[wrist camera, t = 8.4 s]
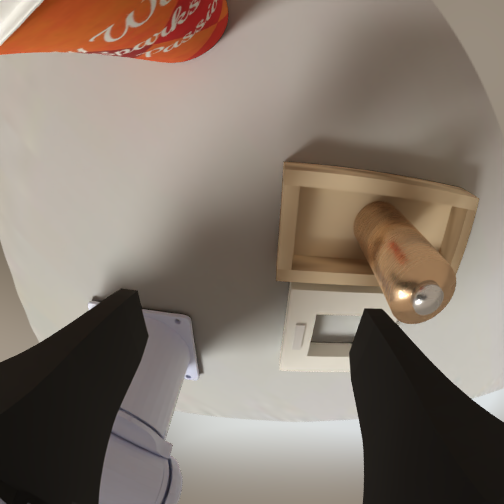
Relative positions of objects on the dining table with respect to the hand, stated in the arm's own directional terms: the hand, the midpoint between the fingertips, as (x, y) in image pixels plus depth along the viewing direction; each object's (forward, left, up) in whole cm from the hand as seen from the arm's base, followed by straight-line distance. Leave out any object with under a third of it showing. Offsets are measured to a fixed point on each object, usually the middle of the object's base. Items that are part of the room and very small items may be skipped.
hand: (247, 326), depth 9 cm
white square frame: (+6, -8, -9) cm, 14 cm away
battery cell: (+7, 0, -9) cm, 11 cm away
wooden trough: (+7, 0, -9) cm, 12 cm away
